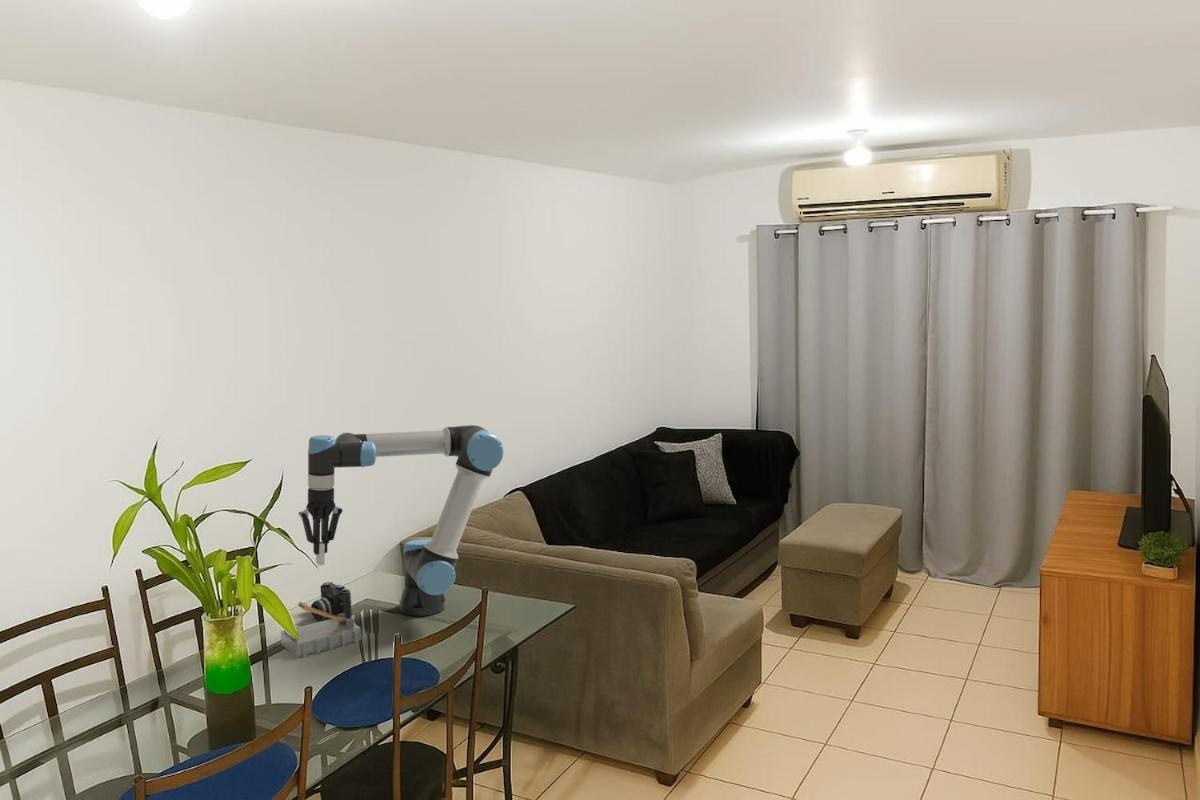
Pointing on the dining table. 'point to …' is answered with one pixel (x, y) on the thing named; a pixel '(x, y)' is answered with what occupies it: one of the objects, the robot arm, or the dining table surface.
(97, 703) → the dining table surface
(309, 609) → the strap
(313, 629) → the heatsink
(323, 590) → the camera
